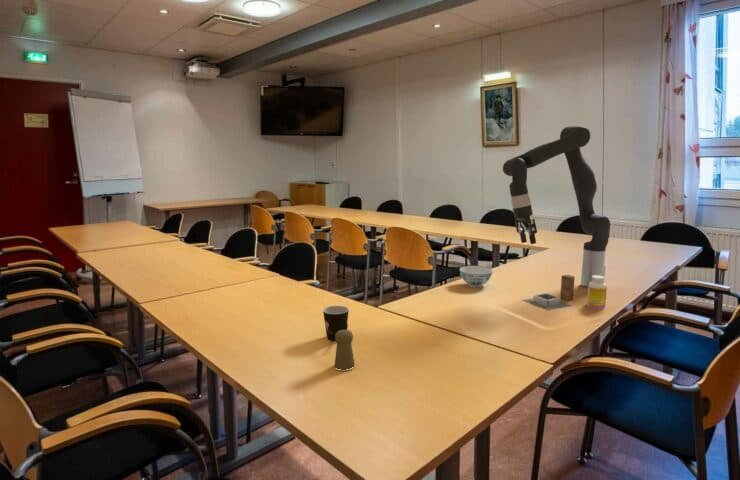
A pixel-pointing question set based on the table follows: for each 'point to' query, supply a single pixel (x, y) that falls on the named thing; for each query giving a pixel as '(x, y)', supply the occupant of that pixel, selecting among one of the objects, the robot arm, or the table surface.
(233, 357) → the table surface
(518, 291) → the table surface
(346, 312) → the coffee mug
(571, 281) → the brown wooden block
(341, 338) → the cork
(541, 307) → the coaster
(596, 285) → the supplement bottle
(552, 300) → the open square frame
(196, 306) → the table surface
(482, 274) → the chinaware
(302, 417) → the table surface
